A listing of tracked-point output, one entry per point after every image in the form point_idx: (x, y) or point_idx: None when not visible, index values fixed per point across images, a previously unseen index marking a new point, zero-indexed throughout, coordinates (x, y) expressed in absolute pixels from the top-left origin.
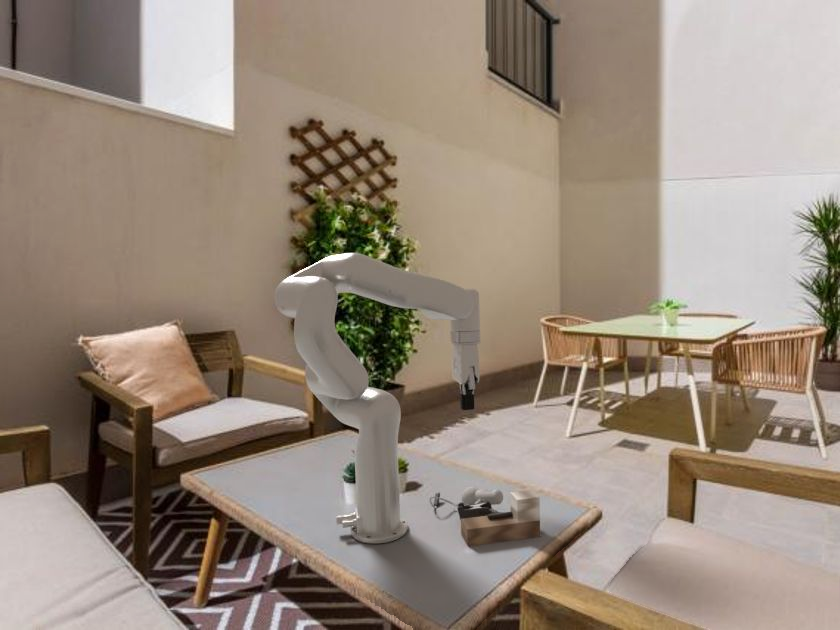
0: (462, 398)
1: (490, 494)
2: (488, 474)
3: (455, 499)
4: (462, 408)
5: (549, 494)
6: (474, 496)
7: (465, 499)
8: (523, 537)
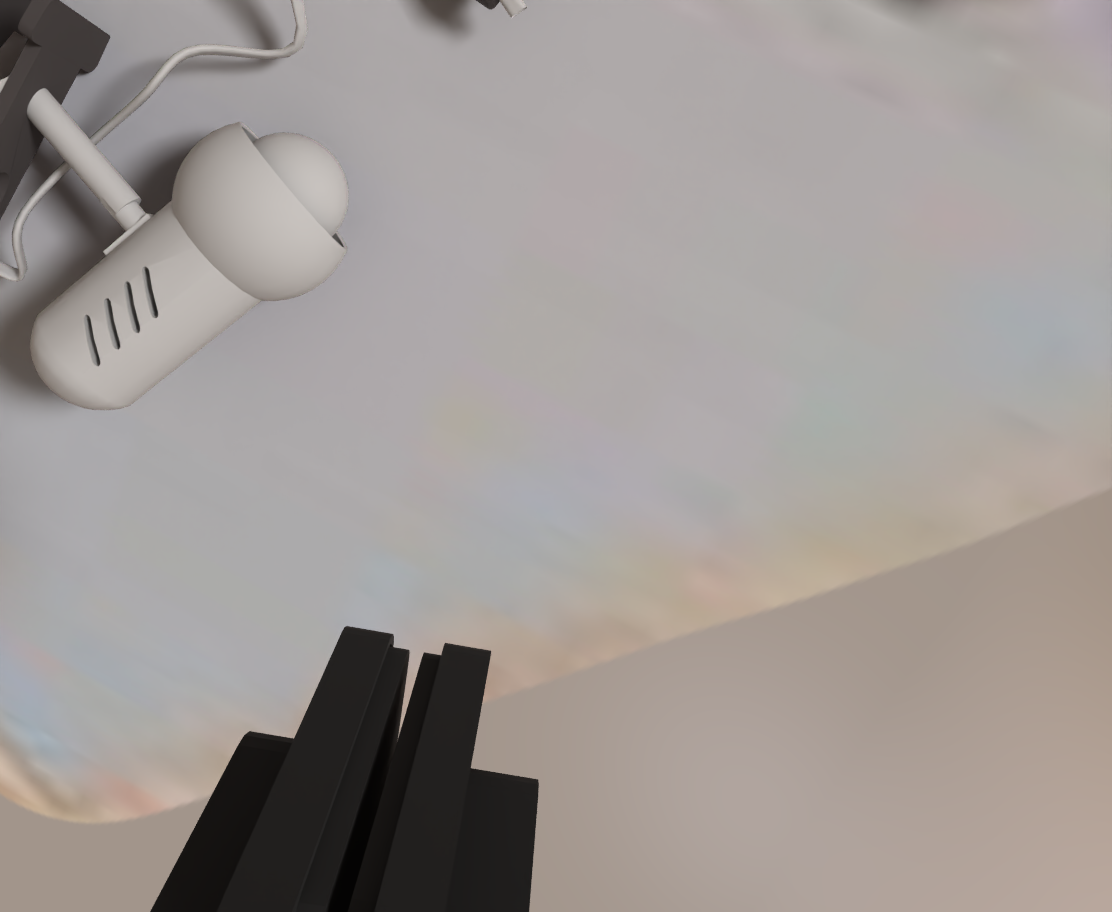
0: (264, 829)
1: (65, 307)
2: (799, 594)
3: (475, 149)
4: (340, 642)
5: None
6: (171, 205)
7: (211, 134)
8: None
